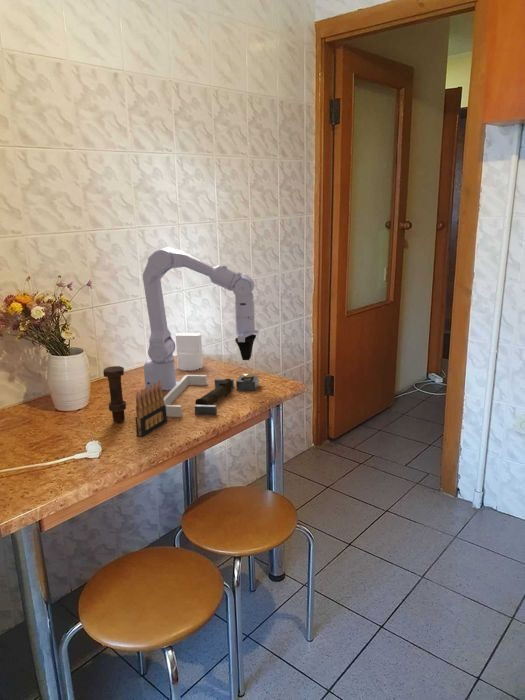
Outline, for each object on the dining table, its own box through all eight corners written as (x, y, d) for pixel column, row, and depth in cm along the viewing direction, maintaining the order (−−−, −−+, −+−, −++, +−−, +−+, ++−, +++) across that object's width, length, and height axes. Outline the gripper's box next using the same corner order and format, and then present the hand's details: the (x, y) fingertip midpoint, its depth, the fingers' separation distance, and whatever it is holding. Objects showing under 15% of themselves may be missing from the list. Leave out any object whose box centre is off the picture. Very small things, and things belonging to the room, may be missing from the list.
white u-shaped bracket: (156, 416, 149) (155, 406, 148) (186, 383, 175) (185, 374, 175) (181, 416, 148) (180, 406, 147) (207, 383, 174) (206, 375, 174)
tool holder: (195, 414, 149) (194, 404, 148) (217, 383, 174) (217, 374, 174) (242, 416, 147) (242, 405, 146) (258, 384, 172) (258, 375, 171)
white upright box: (174, 370, 190) (172, 337, 187) (182, 362, 199) (180, 331, 196) (199, 370, 189) (197, 337, 186) (205, 363, 197) (204, 331, 194)
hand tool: (207, 413, 151) (206, 397, 150) (195, 411, 152) (194, 395, 151) (239, 392, 167) (238, 377, 166) (228, 390, 169) (227, 376, 168)
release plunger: (241, 387, 168) (240, 375, 167) (243, 383, 172) (242, 372, 171) (252, 387, 168) (251, 376, 167) (254, 383, 171) (253, 372, 170)
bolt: (133, 418, 147) (128, 366, 143) (123, 426, 143) (117, 372, 139) (115, 416, 149) (109, 365, 145) (104, 423, 145) (98, 370, 141)
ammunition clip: (161, 421, 145) (158, 379, 142) (167, 422, 145) (164, 379, 142) (136, 436, 136) (132, 391, 133) (142, 437, 135) (138, 392, 132)
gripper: (253, 321, 156) (255, 366, 160) (261, 311, 170) (263, 352, 173) (230, 321, 157) (232, 365, 161) (239, 311, 171) (241, 352, 175)
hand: (246, 359), depth 167 cm, fingers closed
